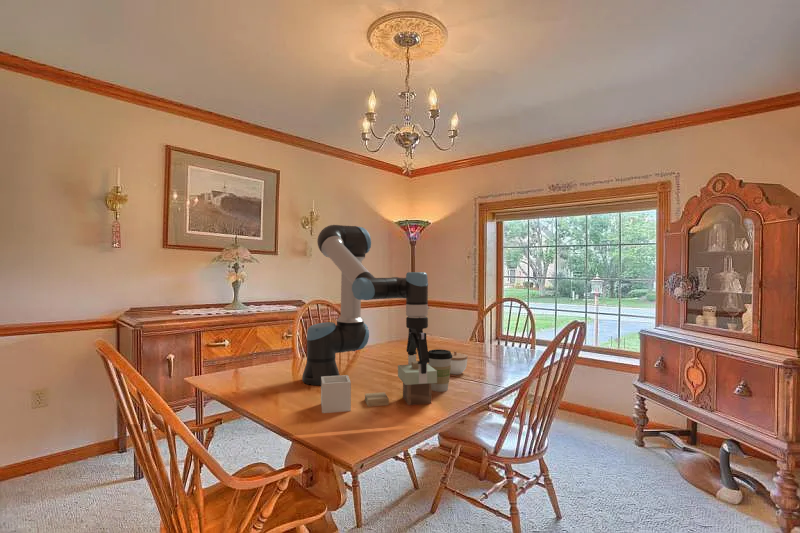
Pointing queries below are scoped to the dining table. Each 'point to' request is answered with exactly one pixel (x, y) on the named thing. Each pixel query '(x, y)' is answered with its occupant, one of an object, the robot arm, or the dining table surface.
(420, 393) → the walnut box
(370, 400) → the oak stand
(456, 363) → the lidded jar
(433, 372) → the lid
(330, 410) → the planter
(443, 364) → the coffee cup
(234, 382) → the dining table surface
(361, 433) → the dining table surface
